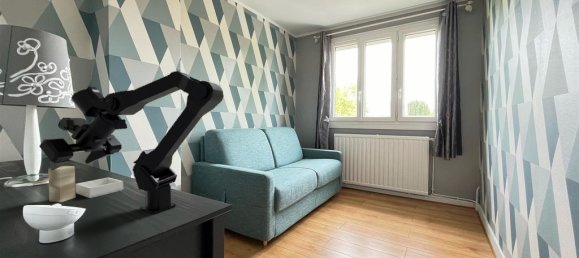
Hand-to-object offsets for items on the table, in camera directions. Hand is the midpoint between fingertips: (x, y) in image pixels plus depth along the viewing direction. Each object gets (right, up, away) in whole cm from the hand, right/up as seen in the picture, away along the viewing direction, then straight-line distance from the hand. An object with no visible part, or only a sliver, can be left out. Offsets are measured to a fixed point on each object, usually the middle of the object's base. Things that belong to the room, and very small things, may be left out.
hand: (69, 165), depth 69 cm
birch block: (-3, -10, +1) cm, 11 cm away
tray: (+2, -10, +9) cm, 13 cm away
